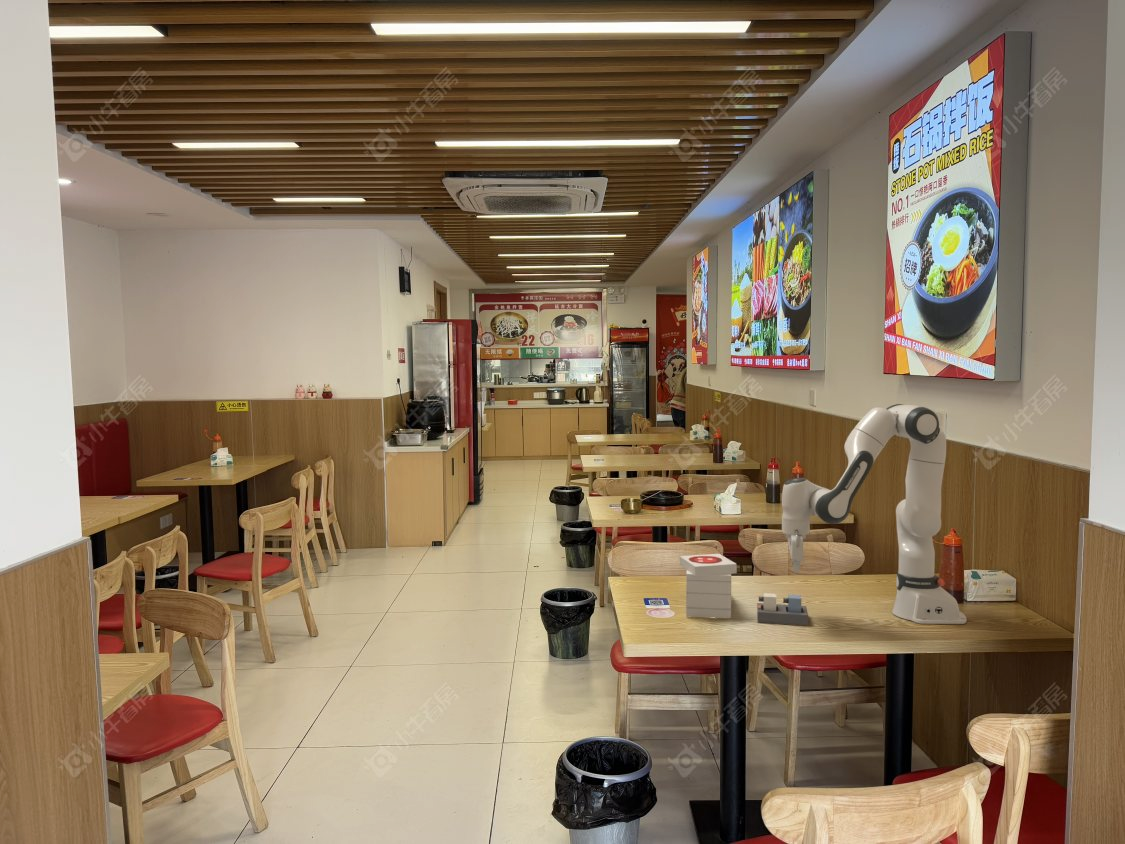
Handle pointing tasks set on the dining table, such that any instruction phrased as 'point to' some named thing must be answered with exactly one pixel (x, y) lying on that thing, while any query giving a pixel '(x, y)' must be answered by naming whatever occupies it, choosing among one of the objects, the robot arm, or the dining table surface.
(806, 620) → the grey socket tray
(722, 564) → the stack of pizza boxes
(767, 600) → the white plug
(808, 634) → the dining table surface
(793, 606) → the blue plug
